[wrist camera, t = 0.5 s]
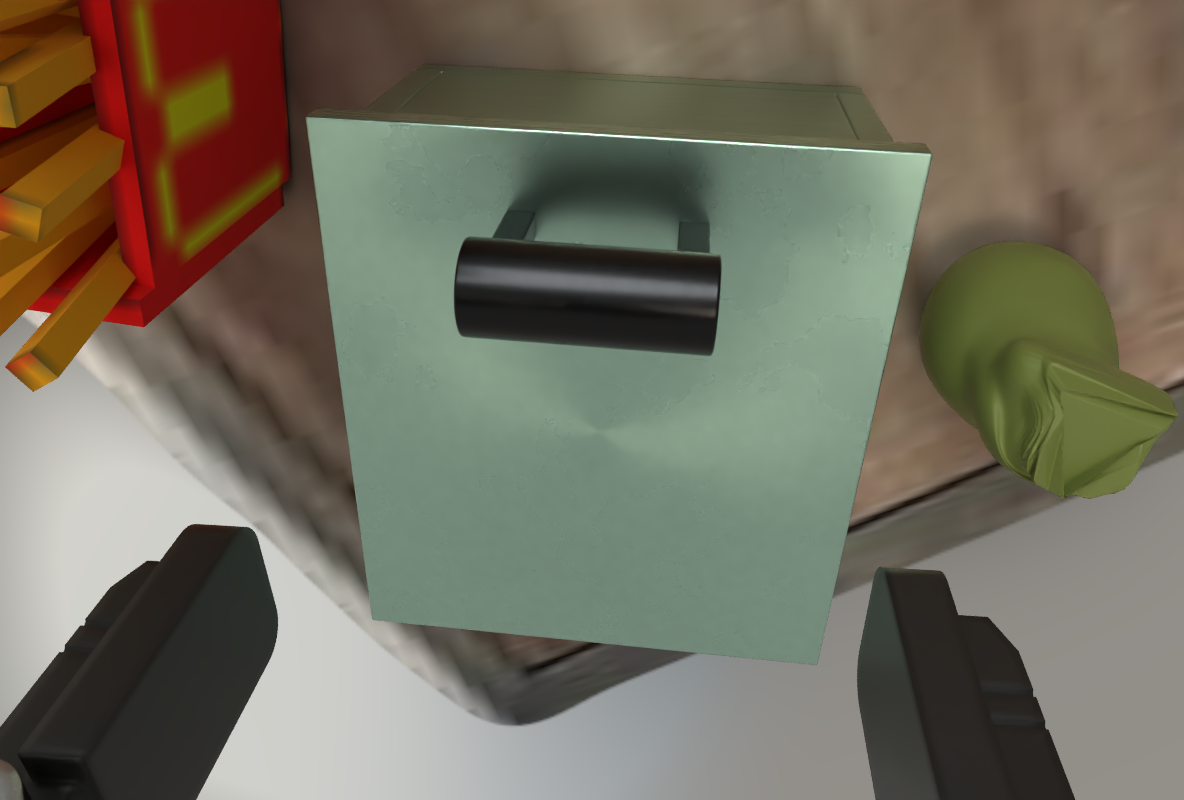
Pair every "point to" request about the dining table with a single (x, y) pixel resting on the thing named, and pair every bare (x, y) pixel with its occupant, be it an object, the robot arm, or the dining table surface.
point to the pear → (1040, 369)
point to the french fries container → (130, 157)
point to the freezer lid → (609, 369)
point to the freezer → (636, 101)
